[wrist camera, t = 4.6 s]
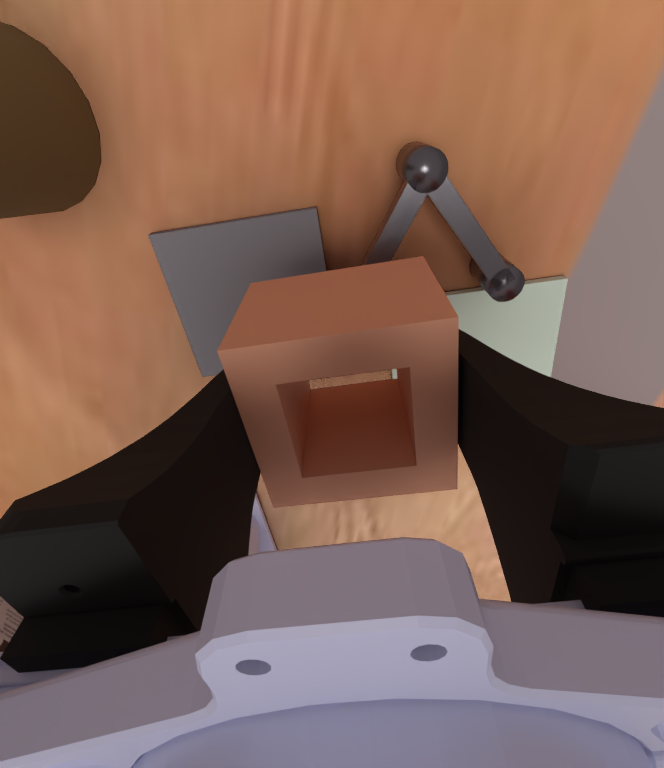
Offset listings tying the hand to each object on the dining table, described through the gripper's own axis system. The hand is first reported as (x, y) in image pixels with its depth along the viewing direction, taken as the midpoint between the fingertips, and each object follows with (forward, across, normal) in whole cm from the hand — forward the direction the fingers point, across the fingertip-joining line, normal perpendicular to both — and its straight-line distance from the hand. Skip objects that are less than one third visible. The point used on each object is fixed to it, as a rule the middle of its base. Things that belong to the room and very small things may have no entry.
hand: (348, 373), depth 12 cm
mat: (+8, +4, 0) cm, 9 cm away
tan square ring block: (+2, 0, 0) cm, 2 cm away
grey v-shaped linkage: (+8, -3, -2) cm, 8 cm away
